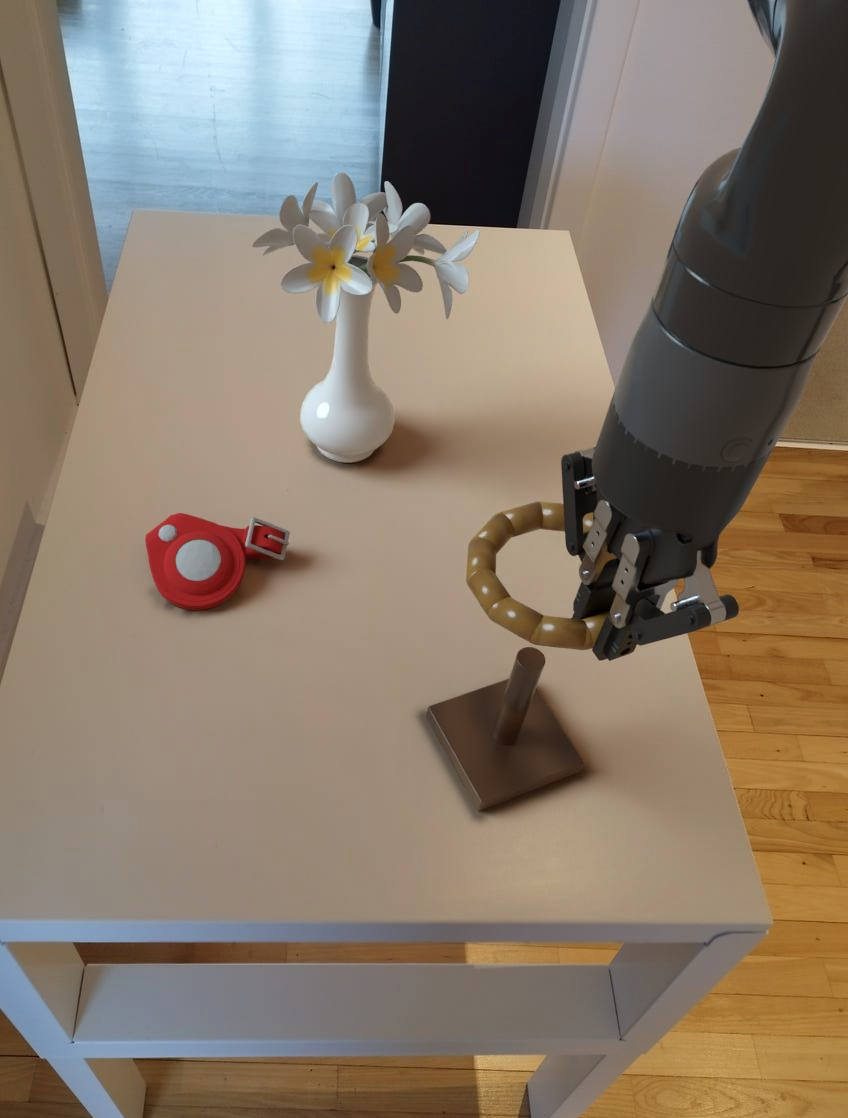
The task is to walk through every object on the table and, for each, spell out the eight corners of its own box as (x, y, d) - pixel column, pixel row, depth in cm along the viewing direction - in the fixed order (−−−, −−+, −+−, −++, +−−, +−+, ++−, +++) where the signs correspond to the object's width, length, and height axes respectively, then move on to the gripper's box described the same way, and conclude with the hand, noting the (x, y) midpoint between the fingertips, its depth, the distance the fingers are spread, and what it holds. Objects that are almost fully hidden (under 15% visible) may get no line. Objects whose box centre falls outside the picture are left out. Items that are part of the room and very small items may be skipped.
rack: (522, 682, 75) (553, 593, 66) (580, 771, 70) (621, 689, 61) (425, 716, 73) (443, 628, 64) (478, 811, 68) (505, 731, 59)
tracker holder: (194, 625, 75) (115, 543, 77) (200, 641, 80) (125, 563, 81) (301, 533, 78) (223, 457, 80) (301, 554, 83) (227, 481, 84)
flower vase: (454, 477, 90) (499, 235, 70) (267, 491, 87) (258, 243, 67) (427, 394, 97) (460, 154, 77) (254, 404, 95) (242, 158, 75)
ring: (586, 499, 62) (592, 479, 61) (686, 620, 56) (695, 601, 54) (434, 544, 59) (437, 524, 58) (522, 678, 53) (527, 660, 51)
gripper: (867, 486, 38) (716, 708, 52) (678, 306, 46) (590, 543, 60) (723, 530, 36) (606, 750, 50) (550, 334, 44) (489, 573, 57)
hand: (598, 636), depth 55 cm, fingers closed on ring, 2 cm apart
